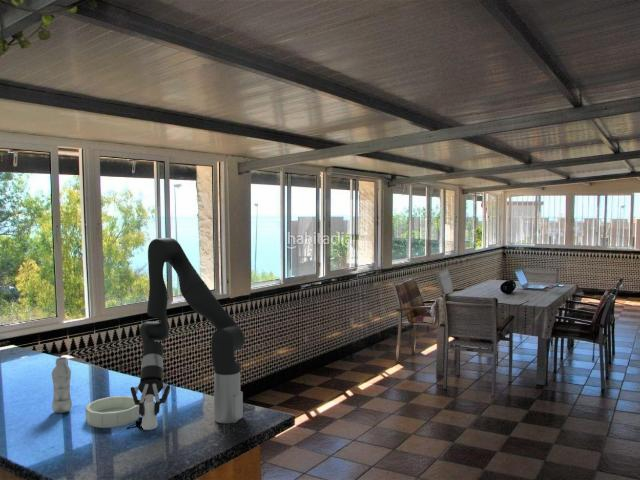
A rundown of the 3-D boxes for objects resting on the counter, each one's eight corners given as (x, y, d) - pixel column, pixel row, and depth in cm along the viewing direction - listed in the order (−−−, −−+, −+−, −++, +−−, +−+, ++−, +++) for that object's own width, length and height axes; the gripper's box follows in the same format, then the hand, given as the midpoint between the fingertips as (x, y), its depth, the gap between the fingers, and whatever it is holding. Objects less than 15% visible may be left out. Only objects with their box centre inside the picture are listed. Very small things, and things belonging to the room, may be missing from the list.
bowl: (150, 412, 197) (150, 399, 197) (118, 430, 180) (118, 416, 180) (109, 407, 203) (109, 394, 203) (74, 424, 186) (74, 410, 185)
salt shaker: (161, 425, 185) (161, 394, 184) (150, 431, 180) (149, 398, 180) (149, 422, 187) (148, 391, 187) (137, 428, 182) (137, 396, 182)
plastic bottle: (64, 416, 193) (63, 361, 192) (47, 414, 195) (47, 360, 194) (75, 409, 199) (75, 356, 199) (59, 408, 201) (59, 355, 200)
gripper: (130, 365, 188) (125, 411, 177) (171, 363, 192) (170, 408, 180) (132, 375, 194) (128, 421, 182) (172, 373, 197) (171, 418, 186)
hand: (149, 414), depth 181 cm, fingers closed on salt shaker, 4 cm apart
